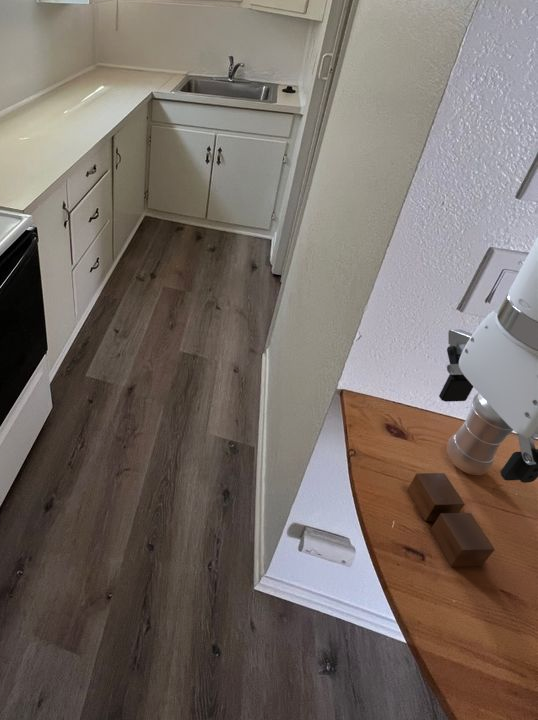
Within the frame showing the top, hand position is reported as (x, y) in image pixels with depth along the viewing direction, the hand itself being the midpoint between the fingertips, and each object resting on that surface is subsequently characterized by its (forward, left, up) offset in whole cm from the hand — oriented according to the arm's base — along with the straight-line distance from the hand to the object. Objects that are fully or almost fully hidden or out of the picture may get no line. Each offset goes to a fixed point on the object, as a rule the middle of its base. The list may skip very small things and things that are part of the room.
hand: (480, 434), depth 50 cm
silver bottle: (-20, -15, -30) cm, 39 cm away
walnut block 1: (-9, -8, -30) cm, 32 cm away
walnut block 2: (-9, -2, -30) cm, 31 cm away
